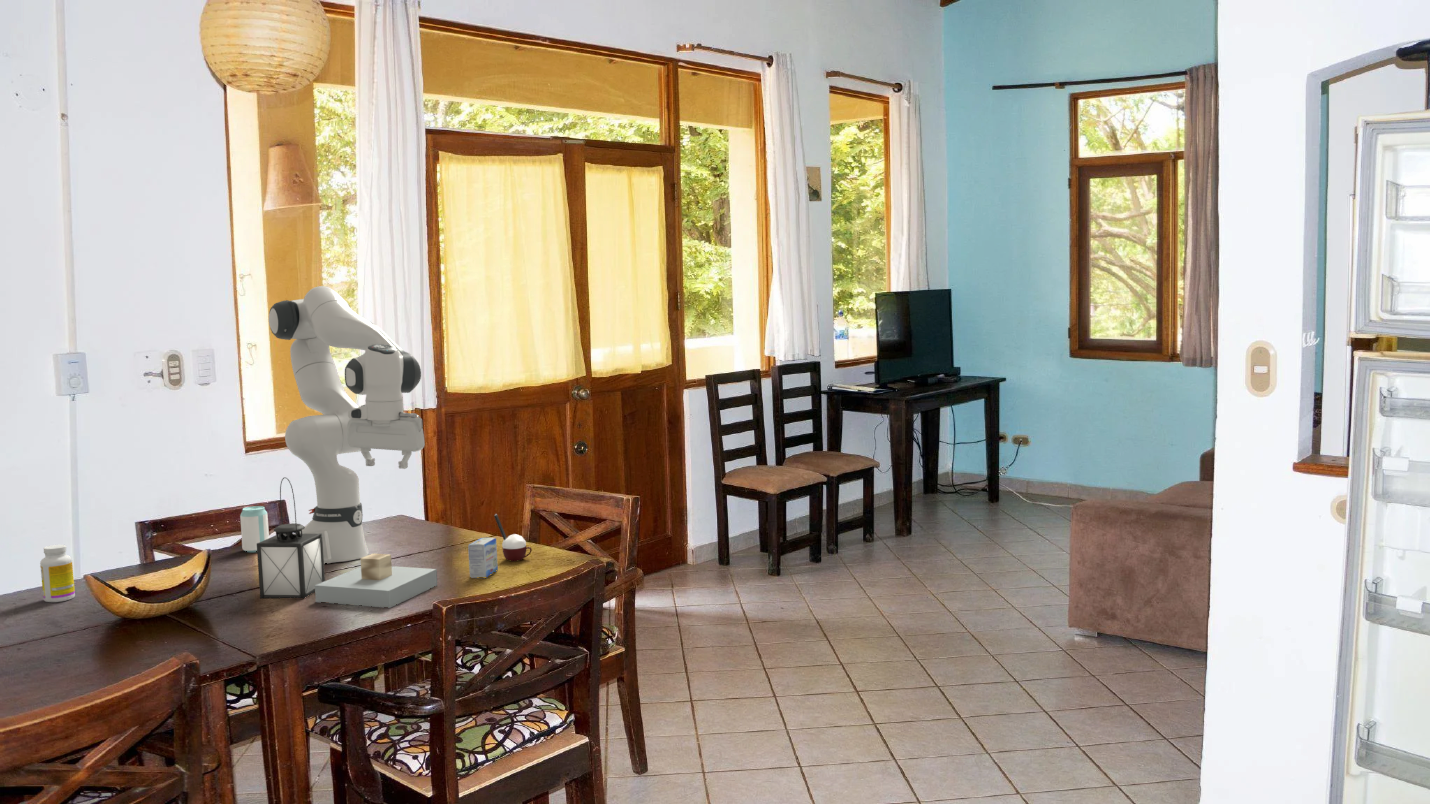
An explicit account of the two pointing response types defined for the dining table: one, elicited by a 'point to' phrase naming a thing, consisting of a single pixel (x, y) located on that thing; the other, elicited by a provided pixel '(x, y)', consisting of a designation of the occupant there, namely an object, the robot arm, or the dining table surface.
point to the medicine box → (482, 557)
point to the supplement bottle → (57, 574)
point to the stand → (376, 587)
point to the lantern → (290, 561)
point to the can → (253, 527)
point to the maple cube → (376, 566)
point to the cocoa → (512, 545)
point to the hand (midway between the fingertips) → (386, 467)
